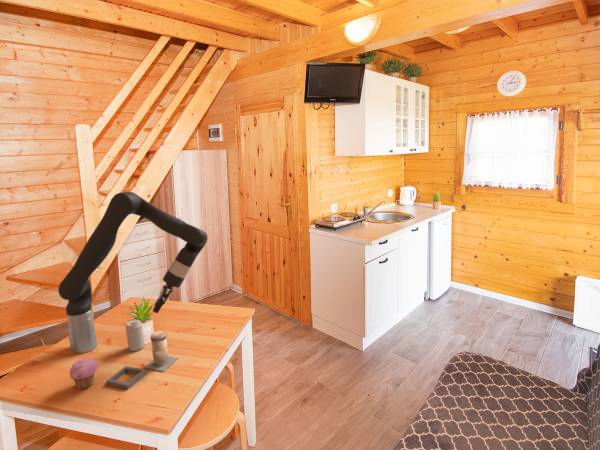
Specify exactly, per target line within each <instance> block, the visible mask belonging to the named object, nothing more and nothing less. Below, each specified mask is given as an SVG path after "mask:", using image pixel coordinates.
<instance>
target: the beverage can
mask: <svg viewBox="0 0 600 450" xmlns="http://www.w3.org/2000/svg"><path fill="white" fill-rule="evenodd" d="M135 323H136V324H135ZM125 324H126V325H125V332H126V339H127V341H126V342H127V347H128V350H130V351H133V352H137V351H141V350H142V349H143V348H144V346H145V338H144V337H145V336H144V329H143V323H142V321H141V320H140V319H131V320H129V321H127V322H126V323H125Z"/></svg>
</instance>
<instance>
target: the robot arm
mask: <svg viewBox="0 0 600 450" xmlns="http://www.w3.org/2000/svg"><path fill="white" fill-rule="evenodd" d="M130 215H136V216H138V217H142V218H144V219H147V220H148V221H149V222H151V223H152V224H153V225H154V226H156V227H157V228H159V229H161V230H162V231H164V232H165V233H168V234H170V235H172V236H173V237H176V238H179V239H181V240H183V241H184V242H186V243H185V245H184V246H183V247H182V248H180V251H179V252H178V253H177V255H176V257H175V259H174V260H173V261H172V263H171V264H170V265H169V267H168V269H167V270H166V273H165V274H164V275H163V278H162V280H163V282H164V283H165V284H164V285H162V288H161V290H160V292H159V295H158V297H157V299H156V301H155V302H154V305H153V306H154V308H153V309H152V312H153V313H155V314H159V312H160V311H161V309H162V307H163V306H164V305H165V304H166V302H167V300H168V299H169V298H170V296H171V295H172V293H173V290H174V289H173V287H174V288H177V289H178V288H179V289H180V287H181V286H182V285H183V283H184V282H185V279H186V277H187V275H188V274H189V272H190V269H191V268H192V266H193V264H194V262H195V261H196V258H197V257H198V256H199V254H200V253H201V251H202V250H203V248H204V247H205V246H206V244H207V242H208V234H207V233H206V231H204V230H202V229H200V228H199V227H196V226H193V225H191V224H189V223H187V222H186V221H184V220H182V219H180V218H178V217H176V216H174V215H172V214H169V213H168V212H165V211H164V210H161V209H160V208H158V207H156V206H154V205H153V204H151V203H150V202H148V201H147V200H146V199H144V198H143V197H141V196H140V195H138V194H136V193H135V192H132V191H122V192H118V193H116V194H115V195H114V196H113V197H112V198H111V199H110V202H109V203H108V205H107V208H106V210H105V212H104V214H103V216H102V218H101V220H100V221H99V223H98V224H97V226H96V227H95V229H94V231H93V232H92V234H91V235H90V236H89V238H88V240H87V241H86V243H85V244H84V246H83V248H82V250H81V252H80V253H79V254H78V257H77V259H76V261H75V262H74V265H73V266H72V267H71V269H70V270H69V272H68V273H67V275H65V277H64V278H63V279H62V280H61V282H59V285H58V295H59V296H60V298H61V299H63V300H64V301H65V300H66V301H68V302H67V304H66V307H65V313H66V318H67V324H68V329H67V332H68V339H69V344H70V350H71V351H72V352H73V353H75V354H83V353H88V352H90V351H92V350H94V349H95V348H96V347H98V341H97V340H98V339H97V333H96V328H95V320H94V315H93V309H92V308H93V307H92V304H93V303H92V302H93V295H92V294H93V293H92V285H91V282H90V277H91V275H92V274H93V273H94V272H95V271H96V270H97V269H98V267H99V266H101V264H102V263H103V262H104V260H105V259H106V258H107V257H108V255H109V254H110V252H111V251H112V249H113V247H114V246H115V243H116V241H117V237H118V236H117V235H118V231H119V228H120V227H121V225H122V224H123V223H124V221H125V220H126V218H127V217H129V216H130Z"/></svg>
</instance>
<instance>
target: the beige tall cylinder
mask: <svg viewBox="0 0 600 450" xmlns="http://www.w3.org/2000/svg"><path fill="white" fill-rule="evenodd" d="M167 336H168V335H167V332H166V331H163V330H160V331H155V332H153V333H151V334H150V342H151V349H152V350H151V351H152V360H153V361H154V365H155V366H163V365H166V364H167V363H168V362H169V358H168V356H169V349H168V340H167Z"/></svg>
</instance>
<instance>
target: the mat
mask: <svg viewBox="0 0 600 450" xmlns="http://www.w3.org/2000/svg"><path fill="white" fill-rule="evenodd" d="M168 358H169V362H168V363H167V364H166V365H163V366H155V365H154V361H153V359H152V360H151V361H149V362H148V363H147V364H146V365H145V366H143V368H144V369H145V370H152V371H158V372H162V373H164V372H165V371H166V370H167V369H169V368H170V367H171V366H172V365H173V364H174V363H175V362H176V361H177V360H178V357H174V356H169V355H168Z"/></svg>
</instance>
